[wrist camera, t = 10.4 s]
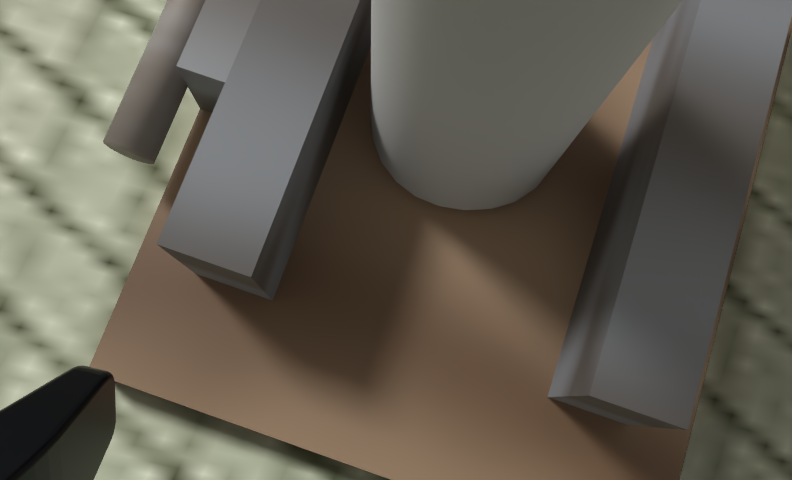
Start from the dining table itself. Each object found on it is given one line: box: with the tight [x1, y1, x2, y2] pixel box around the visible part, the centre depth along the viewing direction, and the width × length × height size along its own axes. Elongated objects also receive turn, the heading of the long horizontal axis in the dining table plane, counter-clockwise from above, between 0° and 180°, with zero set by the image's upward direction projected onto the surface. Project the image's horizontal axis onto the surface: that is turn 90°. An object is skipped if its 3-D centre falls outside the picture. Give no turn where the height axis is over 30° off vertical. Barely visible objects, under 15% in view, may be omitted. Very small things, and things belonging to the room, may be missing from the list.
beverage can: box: [371, 0, 683, 210], centre depth 14 cm, size 5×5×12 cm
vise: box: [89, 0, 792, 480], centre depth 18 cm, size 18×15×4 cm
